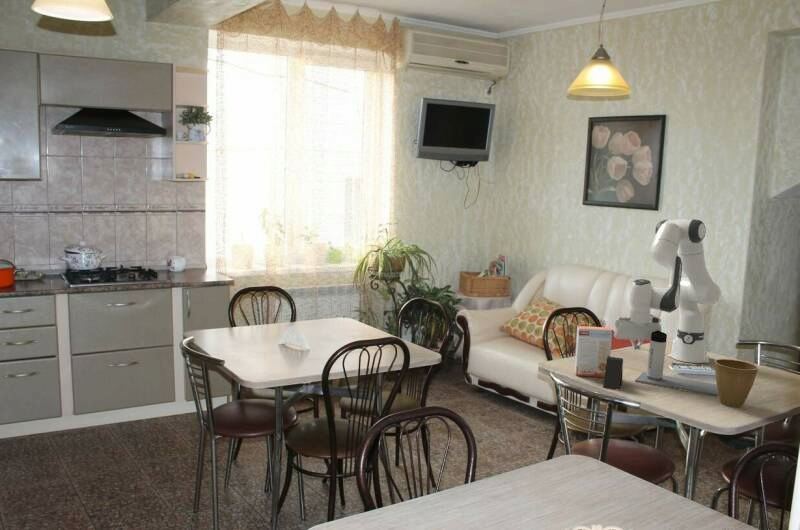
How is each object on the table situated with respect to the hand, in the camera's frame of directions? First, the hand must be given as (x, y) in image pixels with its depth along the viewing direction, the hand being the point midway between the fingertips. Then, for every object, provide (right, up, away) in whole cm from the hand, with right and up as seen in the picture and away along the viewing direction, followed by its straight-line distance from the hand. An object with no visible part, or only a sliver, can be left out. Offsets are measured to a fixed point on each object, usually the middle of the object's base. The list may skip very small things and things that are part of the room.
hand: (636, 349), depth 302 cm
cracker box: (-19, -11, +1) cm, 22 cm away
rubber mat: (+15, -14, -8) cm, 22 cm away
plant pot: (+26, -18, -33) cm, 45 cm away
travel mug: (+7, -12, -3) cm, 14 cm away
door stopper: (-14, -14, -15) cm, 25 cm away
